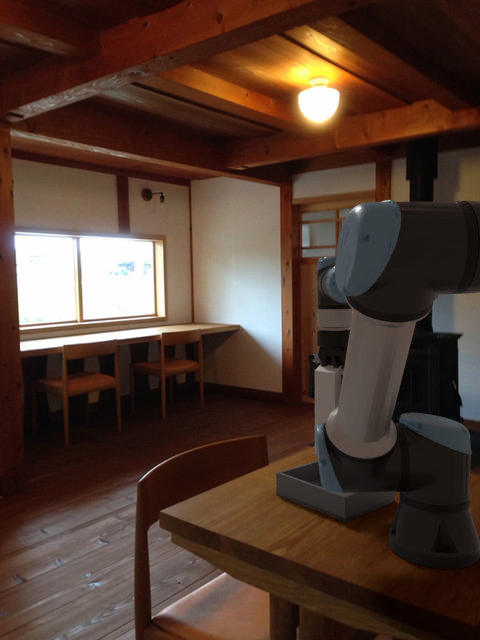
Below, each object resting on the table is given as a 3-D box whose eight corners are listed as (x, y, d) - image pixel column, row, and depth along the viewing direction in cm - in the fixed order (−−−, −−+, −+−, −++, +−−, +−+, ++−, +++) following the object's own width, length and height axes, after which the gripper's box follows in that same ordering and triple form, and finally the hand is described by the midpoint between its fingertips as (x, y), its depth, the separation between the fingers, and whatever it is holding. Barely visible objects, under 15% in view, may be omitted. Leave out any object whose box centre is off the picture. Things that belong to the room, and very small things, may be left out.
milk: (334, 462, 116) (334, 358, 115) (314, 455, 121) (313, 355, 120) (353, 456, 120) (354, 356, 119) (333, 450, 125) (333, 353, 124)
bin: (394, 501, 119) (395, 478, 119) (344, 522, 108) (344, 497, 108) (326, 478, 134) (326, 457, 134) (276, 494, 123) (276, 472, 123)
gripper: (382, 330, 114) (381, 440, 115) (313, 325, 129) (313, 423, 130) (359, 332, 109) (358, 446, 111) (291, 327, 124) (291, 428, 125)
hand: (334, 433), depth 120 cm, fingers closed on milk, 6 cm apart
